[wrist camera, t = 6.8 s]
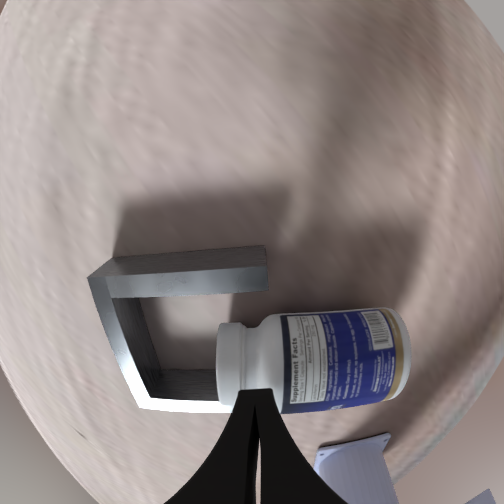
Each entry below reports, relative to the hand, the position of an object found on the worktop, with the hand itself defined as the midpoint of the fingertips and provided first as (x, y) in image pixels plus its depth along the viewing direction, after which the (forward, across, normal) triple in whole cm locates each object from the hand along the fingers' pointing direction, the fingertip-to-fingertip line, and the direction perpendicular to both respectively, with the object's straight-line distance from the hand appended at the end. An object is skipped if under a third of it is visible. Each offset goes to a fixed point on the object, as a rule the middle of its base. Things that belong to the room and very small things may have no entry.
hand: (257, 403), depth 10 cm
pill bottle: (+3, -8, +1) cm, 9 cm away
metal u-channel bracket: (+6, +3, 0) cm, 7 cm away
